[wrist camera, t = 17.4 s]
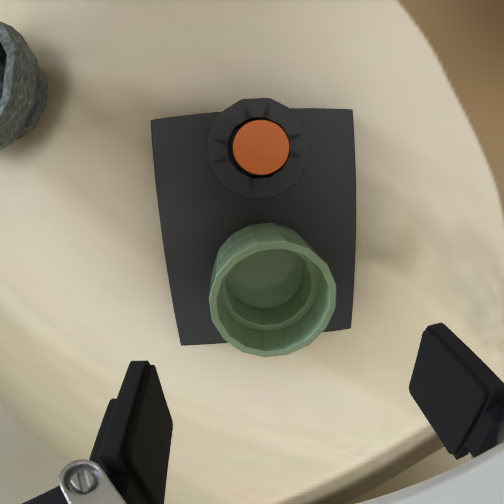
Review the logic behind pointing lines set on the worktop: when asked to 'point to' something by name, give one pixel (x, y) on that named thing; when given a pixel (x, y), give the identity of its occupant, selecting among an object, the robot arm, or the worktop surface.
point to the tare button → (261, 147)
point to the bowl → (270, 291)
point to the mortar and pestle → (18, 86)
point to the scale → (252, 199)
